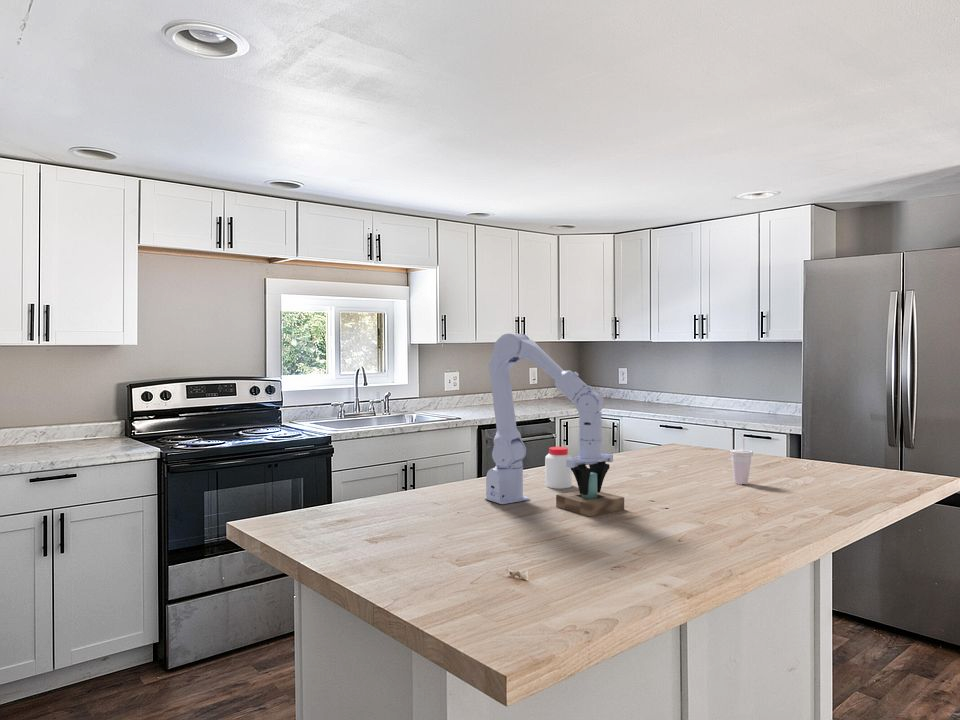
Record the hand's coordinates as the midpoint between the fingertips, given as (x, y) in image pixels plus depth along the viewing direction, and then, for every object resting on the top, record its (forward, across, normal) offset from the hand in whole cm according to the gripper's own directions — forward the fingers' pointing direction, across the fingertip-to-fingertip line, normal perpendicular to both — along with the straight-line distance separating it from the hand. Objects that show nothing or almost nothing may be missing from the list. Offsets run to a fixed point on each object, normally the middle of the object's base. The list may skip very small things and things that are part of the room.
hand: (589, 492), depth 169 cm
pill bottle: (+4, +11, +24) cm, 27 cm away
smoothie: (+4, +57, -5) cm, 57 cm away
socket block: (+4, 0, 0) cm, 4 cm away
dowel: (+2, 0, 0) cm, 2 cm away
